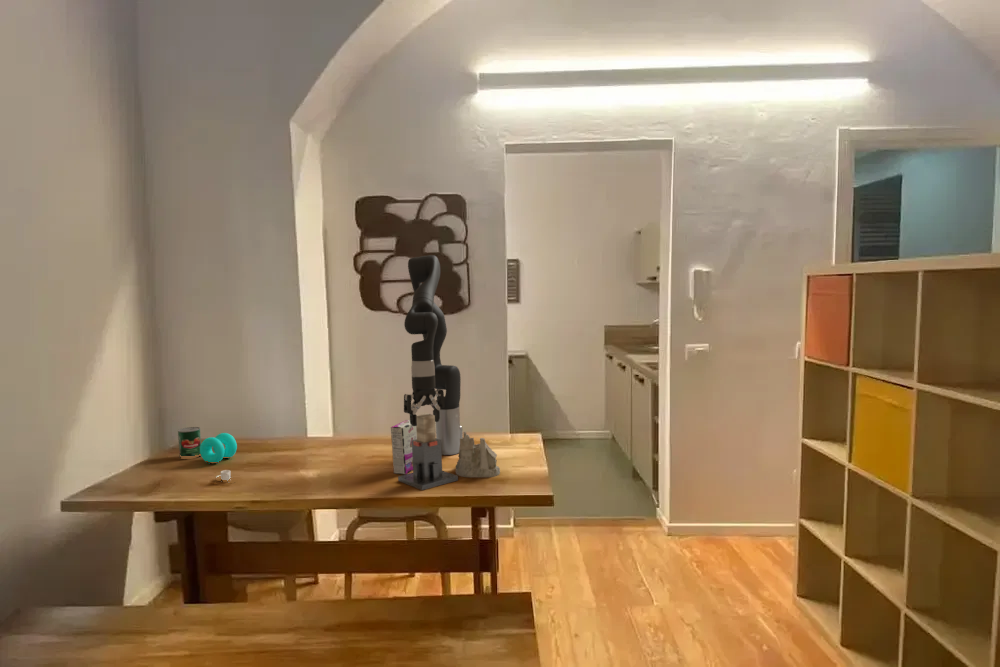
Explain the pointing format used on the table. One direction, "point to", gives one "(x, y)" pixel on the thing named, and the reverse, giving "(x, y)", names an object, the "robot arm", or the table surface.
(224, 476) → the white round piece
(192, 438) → the canned tomato
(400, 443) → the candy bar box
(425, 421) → the post
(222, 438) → the donuts
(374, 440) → the table surface
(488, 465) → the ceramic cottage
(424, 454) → the stand
